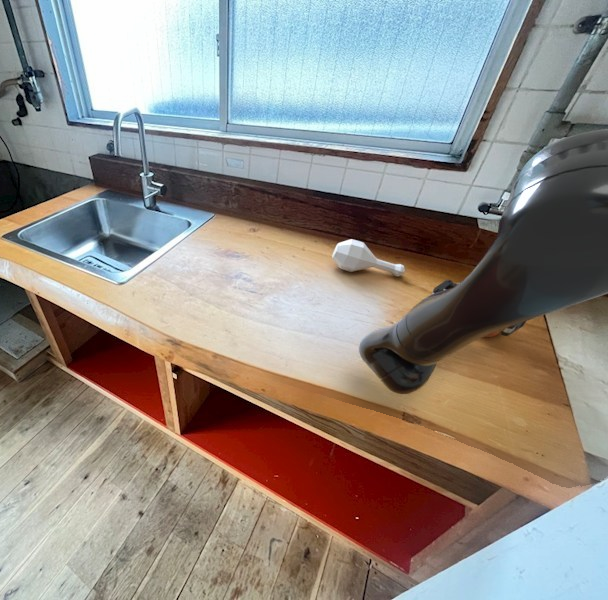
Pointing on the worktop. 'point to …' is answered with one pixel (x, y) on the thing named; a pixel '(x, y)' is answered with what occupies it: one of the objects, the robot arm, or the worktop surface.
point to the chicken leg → (361, 258)
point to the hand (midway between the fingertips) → (494, 293)
